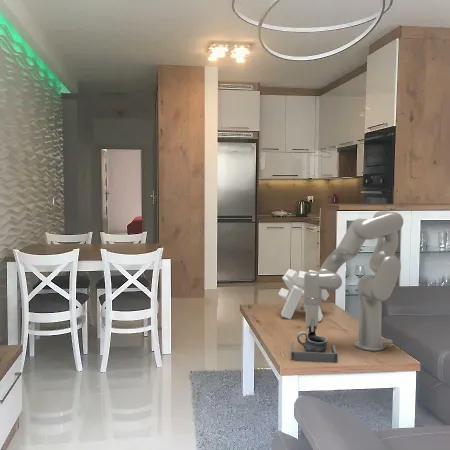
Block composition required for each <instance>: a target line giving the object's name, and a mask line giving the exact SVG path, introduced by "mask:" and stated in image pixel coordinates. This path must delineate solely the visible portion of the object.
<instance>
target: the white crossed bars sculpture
mask: <svg viewBox="0 0 450 450" xmlns="http://www.w3.org/2000/svg"><path fill="white" fill-rule="evenodd" d="M307 272H317V271H316V270H312V269H309V270H308V271H303V270H299V272H298V271H296V270H294V269H292V268H288V270H287V271H286V272H285V274H284V275H283V276H282V277H281V278H282V280H283V282H284V284H285V286H287V289H286V288H285V287H281V288H280V290H279V292H278V294H277V295H278V296H280V298H282V300H283V301H284V302H285V303H284V306H283V308H282V309H281V313H280V314H281V317H283V318H285V319H288V320H292V317H293V315H294V313H295V310H296V311H300V309H301V307H302V305H303V312H304V313H306V305H304V304H302V302H301V301H300V300H301V299H302V298H304V275H305V273H307ZM328 297H330V294H329V292H328V290H326V289H322V300H323V301H325V302H326V301H327V299H328ZM323 317H324V314H323V313H322V310H321V306H319V311H318V322H321V320H322V319H323Z"/></svg>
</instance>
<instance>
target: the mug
mask: <svg viewBox="0 0 450 450" xmlns="http://www.w3.org/2000/svg"><path fill="white" fill-rule="evenodd" d="M302 335H305V341H304V342H302V341H301V340H300V336H302ZM296 339H297V342H298V343H299V345H301V346H302V347H303V349H304V352H320V353H327V347H328V338H327V337H326V336H322V335H321V336H320V335H316V336H308V332H306V331H304V330H303V331H299V332H298V333H297V336H296Z"/></svg>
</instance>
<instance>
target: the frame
mask: <svg viewBox="0 0 450 450" xmlns="http://www.w3.org/2000/svg"><path fill="white" fill-rule="evenodd" d="M290 344H291V345H290V347H291V348H290V349H291V351H290V353H291V354H290V355H291V356H290V359H291V360H295V362H310V363H311V362H315V363H331V364H332V363H338V351H337V348H336V345H335V343H333V344H331V352H325V353H320V352H306V351H297V350H296V351H295V343H294V342H291V343H290ZM291 360H290V361H291Z"/></svg>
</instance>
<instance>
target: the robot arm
mask: <svg viewBox="0 0 450 450" xmlns="http://www.w3.org/2000/svg"><path fill="white" fill-rule="evenodd" d="M403 225H404V218H403V216H402V214H401V213H398V211H397V212H396V211H389V210H380V211H377V212H376V213H374V214H373V217H372V218H369V219H368V218H357V219H356V218H355V220H353V221H352V222H351V224H350V225H349V227H348V229H347V231H346V232H345V234H344V236H343V238H342V239H341V241H340V242H339V244H338V246H337V247H336V248H335V249H334V250H333V251H332V252H331V253H330V254H329V255H328V256H327V257H326V259H325V260H324V261H323V263H322V265H321V266H320V269H319V270H318V271H316V272H309V271H306V272H307V273H305V275H304V297H303V306H304V305H306V312H305V329H308V332H307V335H308V336H317V334H316V330H317V329H318V327H319V326H318V324H319V321H318V311H319V307H321V306H322V304H323V303H322V302H323V301H322V289H326V290H327V291H328V290H329V291H335V290H338V289H340V288H341V287H342V285H343V279H342V278H341V276H340V275H339V274H338V273H337V272H338V271H339V269H340V268H341V267H342V266H343V265H344V264H345V263H347V262H349V261H352V260H353V259H355V258H356V256H357V255H358V254H359V252H360V249H361V248H362V247H363V245H364V243H365V241H366V240H369V241H370V240H374V239H377V241H376V245H375V247H374V249H373V251H372V255H371V257H370V259H369V263H368V265H369V266H368V267H369V268H370V270H371V271H372V272H374V274H375V275H373V274H365V275H363V276H362V277H360V278H359V280H358V282H357V293H358V340H356V341H355V342H354V346H355V347H356V348H358V349H359V350H363V351H370V352H371V351H372V352H373V351H374V352H375V351H376V352H377V351H382V350H384V349H385V347H386V344H387V345H393V339H389V338H383V336H382V317H383V316H382V314H383V309H382V308H383V306H382V302H384V301H386V300H388V299H389V298H390V296H391V294H392V293H393V290H394V289H395V286H396V284H397V281H398V279H399V276H400V273H401V270H402V264H401V261H400V259H399V257H397V256H396V255H395V254H396V252H397V251H396V250H397V249H398V245H399V234H398V231H400V230H401V229H402V228H403Z"/></svg>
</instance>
